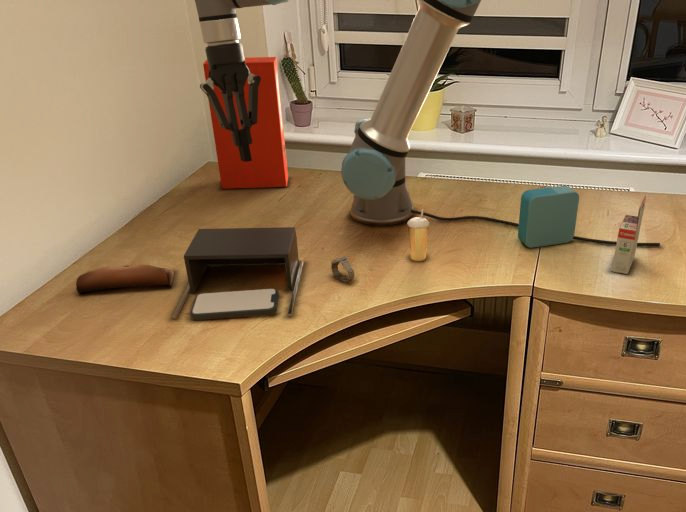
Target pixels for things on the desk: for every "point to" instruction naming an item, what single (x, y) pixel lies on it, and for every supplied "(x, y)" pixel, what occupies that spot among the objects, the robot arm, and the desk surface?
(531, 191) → the data package
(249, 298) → the phone case
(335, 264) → the wristwatch
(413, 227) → the milkshake
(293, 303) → the rails
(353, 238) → the desk surface
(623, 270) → the ink box
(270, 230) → the cover
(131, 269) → the sunglasses case
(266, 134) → the tall red block
